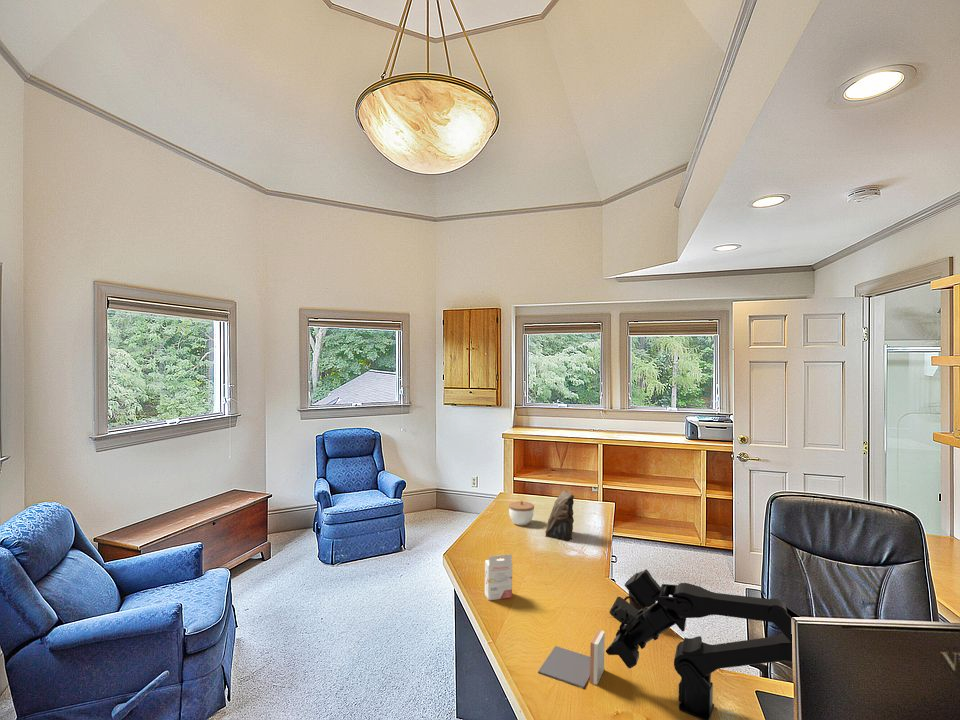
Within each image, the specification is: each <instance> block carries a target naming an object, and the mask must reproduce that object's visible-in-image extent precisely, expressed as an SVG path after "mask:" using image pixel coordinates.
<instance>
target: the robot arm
mask: <svg viewBox="0 0 960 720" xmlns="http://www.w3.org/2000/svg"><path fill="white" fill-rule="evenodd" d="M658 583H659V582H657V581H656V579H655V578H654V577H653V576H652V574H651V573H650V572H649V570H648V569H644V570H643V571H639V572H636V573H634V574H633V575H631V577H630V578H629V579H628V580H627V581H625V583H624V587H625V588H626V589H627V591H628V593H629V592H630V593H631V594H632V596H633V597H634V598H635V599H636V601H637V602H638V603H639V604H640V605H641V606H643V607H646V606H647V607H649V606H651V605H652V604H654V603H655V602H656V603H655V604H654V605H652V606H651V607H649V608H648V609H647V610H645V608H644V609H640V610H638V609H636V608H634V606H632V605H631V604H630V602H628V601H627V600H626V601H625V600H624V598H622V597H621V596H617V597H616V599H615V601H614V602H613V604H612V606H611V607H610V609H609V615H611V616H612V618H614V619H615V620H616V621H618V622H619V623H620V625H619V628H618V629H617V632H616V633H615V637H614V638H613V640H612V642H611V643H610V645H609V646H608V647H607V649H606V650H605V653H606V655H608V656H619V658H620V659H621V660H622V662H623V663H624V665H625V666H626V667H627V669H629V670H630V669H632V668H634V667H635V666H637V664H638V661H639V660H640V651H639V648H640V649H641V650H643V649H644V648H646V645H647V643H649V642H650V641H652V640H654V641H656V640H658V639H659V636H660V635H661V634H663V633H664V632H665V631H667V630H668V629H670V628H672V627H673V626H675V625H676V626H677V627H678V628H679V630H680V631H681V632H685V631H686V624H687V619H694V618H695V619H699V618H704V617H708V616H709V617H710V616H722V617H728V618H729V617H731V618H737V619H743V620H744V619H745V620H753V621H758V622H759V621H761V622H768V623H773V624H774V625H775V626H776V628H778V629H779V630H780V632H781V633H780V634H777V635H775V636H774V635H773V636H766V637H761V638H754V639H746V640H739V641H730V642H724V643H716V644H710V643H706V642H703V638H702V636H700V635H699V636H694V637H690V638H688V637H684V638H683V640H682V641H680V642H679V643H678V644H677V645H676V649H675V654H674V657H673V658H674V660H673V668H674V670H675V671H676V673H677V674H678V675H679V676H680V677H681V679H680V681H679V683H678V699H677V700H678V702H679V705H678V709H679V711H682V712H685V713H687V714H688V715H689V714H690V715H692V716H695V717H697V718H699V719H700V720H710V719H711V717H712V713H713V711H714V708H715V704H714V703H713V701H714V700H713V698H714V697H713V696H714V692H713V691H714V688H713V687H714V683H713V682H712V679H711V678H712V673H713V672H716V671H717V670H719V669H720V670H721V669H726V668H736V667H744V666H752V665H761V664H769V663H771V664H772V663H779V662H789V663H792V634H791V618H792V617H802V616H801V615H800V614H799V613H797V612H795V611H794V610H793V609H791V608H789V607H788V605H786V604H785V603H784V602H783V601H782V600H780V599H779V598H775V597H774V598H773V597H772V598H763V597H754V596H745V595H736V594H728V593H722V592H721V593H719V592H715V591H710V590H707V589H705V588H704V587H702V586H699V585H697V584H691V583H689V582H680V583H678V584H666V583H661V585H660V584H658Z"/></svg>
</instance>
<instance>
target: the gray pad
mask: <svg viewBox="0 0 960 720" xmlns="http://www.w3.org/2000/svg"><path fill="white" fill-rule="evenodd" d="M537 673H538V674H540V675H543V676H546V677H549V678H551V679H552V678H553V679H555V680H558V681H561V682H564V683H567V684H569V685H573V686H576V687H579V688H581V689H585V687H586V685H587V684H588V681H589V680H590V655H586V654H582V653H579V652H576V651H574V650H570V649H567V648H563V647H560V646H557V645H555V646H554V647H553V649H552V651H551V652H550V653H549V655H547V658H545V661H543V664H542V665H541V666H540V668H539V670H538V671H537Z"/></svg>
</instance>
